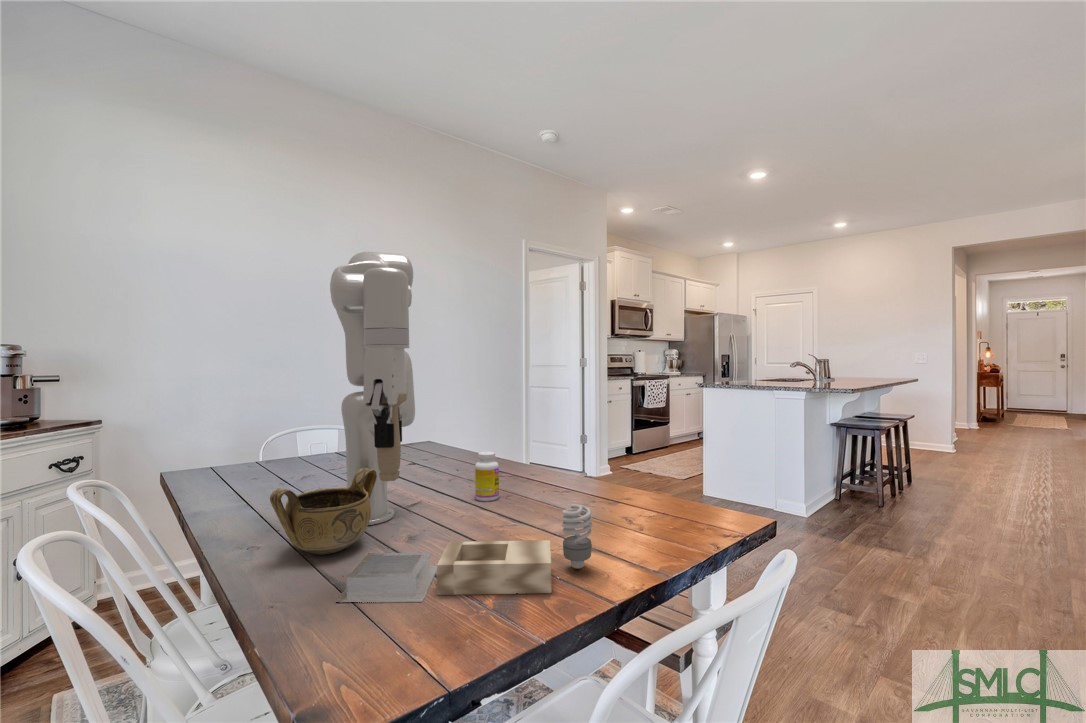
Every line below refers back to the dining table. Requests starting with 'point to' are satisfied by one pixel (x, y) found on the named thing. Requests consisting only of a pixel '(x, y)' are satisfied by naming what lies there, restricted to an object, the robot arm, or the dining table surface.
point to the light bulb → (577, 535)
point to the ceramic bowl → (327, 514)
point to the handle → (391, 456)
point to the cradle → (390, 578)
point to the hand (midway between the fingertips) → (388, 443)
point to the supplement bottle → (486, 477)
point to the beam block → (495, 568)
